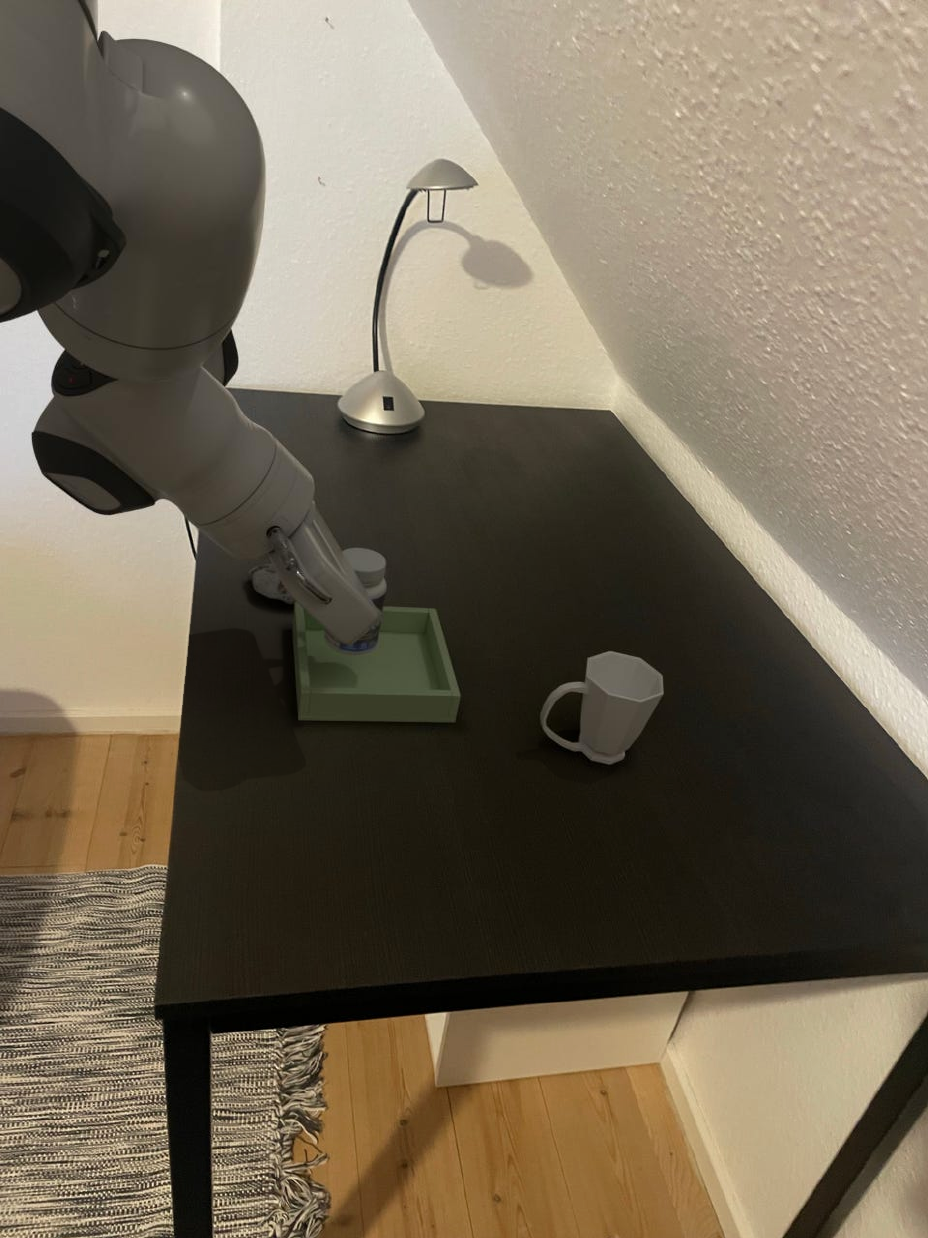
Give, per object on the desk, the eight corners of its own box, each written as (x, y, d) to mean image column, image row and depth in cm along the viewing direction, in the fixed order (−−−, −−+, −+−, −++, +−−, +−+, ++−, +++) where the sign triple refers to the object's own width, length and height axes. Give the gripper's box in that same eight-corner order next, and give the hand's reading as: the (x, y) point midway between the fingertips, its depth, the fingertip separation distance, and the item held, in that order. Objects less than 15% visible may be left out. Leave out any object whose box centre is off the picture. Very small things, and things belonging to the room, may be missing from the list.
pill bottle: (345, 663, 80) (356, 579, 76) (313, 634, 83) (322, 551, 78) (388, 647, 83) (402, 565, 79) (356, 620, 86) (367, 539, 81)
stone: (255, 614, 91) (257, 591, 90) (245, 574, 97) (246, 551, 95) (352, 611, 94) (355, 589, 93) (337, 572, 100) (339, 551, 99)
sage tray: (298, 720, 79) (301, 692, 78) (292, 628, 90) (294, 601, 89) (455, 722, 83) (461, 696, 81) (431, 633, 94) (435, 608, 92)
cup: (652, 773, 82) (680, 700, 77) (544, 778, 79) (567, 702, 74) (622, 720, 87) (646, 650, 83) (520, 723, 84) (540, 650, 80)
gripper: (327, 541, 64) (436, 645, 73) (254, 419, 78) (353, 518, 88) (257, 602, 64) (375, 697, 73) (198, 469, 79) (302, 562, 88)
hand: (362, 599), depth 81 cm, fingers closed on pill bottle, 5 cm apart
